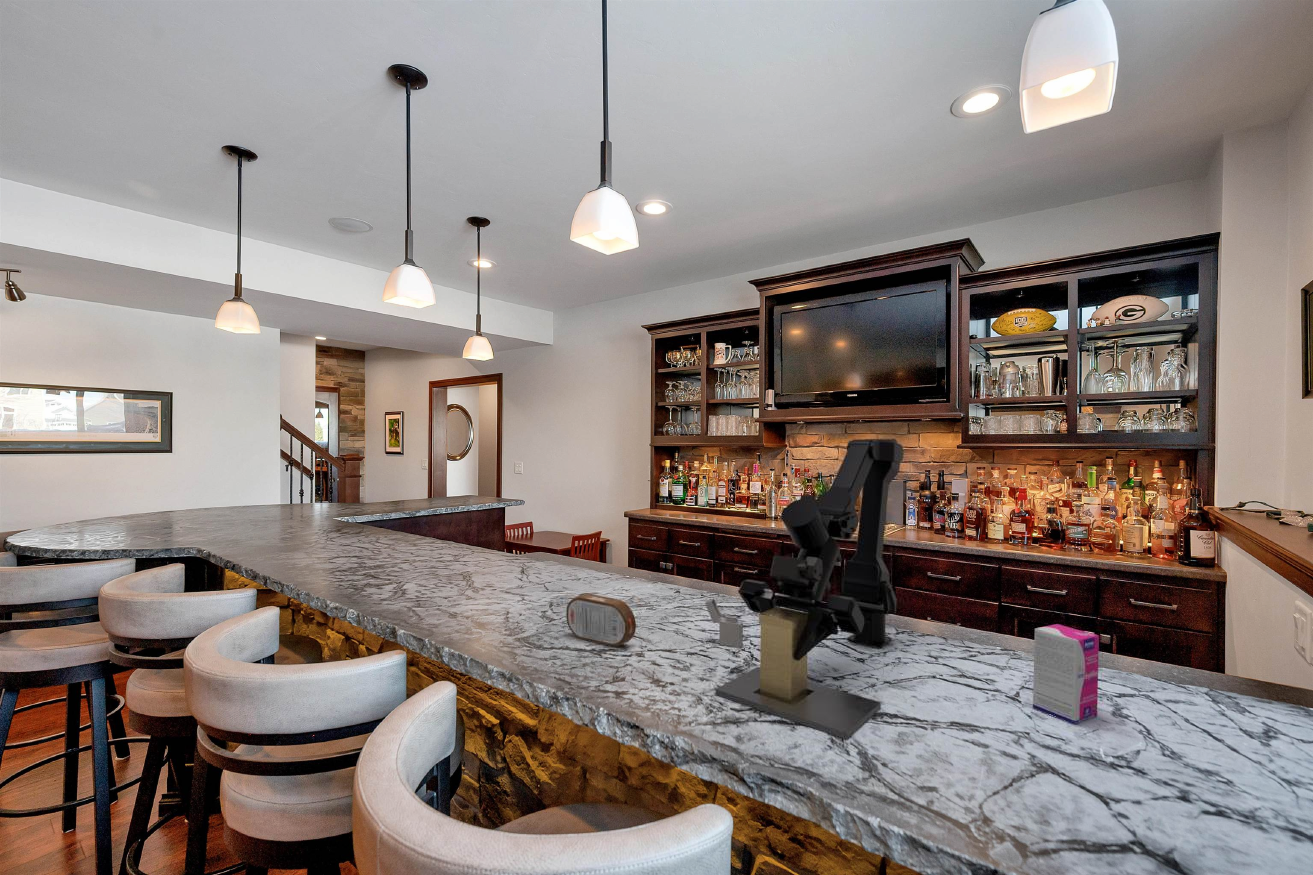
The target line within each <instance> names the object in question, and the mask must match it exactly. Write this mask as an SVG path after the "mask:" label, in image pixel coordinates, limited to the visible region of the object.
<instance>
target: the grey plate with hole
mask: <svg viewBox="0 0 1313 875" xmlns="http://www.w3.org/2000/svg"><path fill="white" fill-rule="evenodd" d="M715 696H719V697H722V698H725V699H727V700H731V701H733V702H736V703H739V704H741V705H744V706H747V707H751V708H753V709H757V710H759V711H763V712H764V713H765V712H766V713H768V714H772V715H774V716H777V717H780V718H783V719H786V720H789V721H792V722H795V723H798V724H799V725H800V724H801V725H803V726H805V727H810V728H812V729H815V730H819V731H822V732H825V733H827V734H830V735H833V736H835V737H838V738H842V739H844V740H848V739H849V738H850V737H851V736H852V735H854V733H855V732H856V731H857V730H859V729H860V728H861V727H862V726H864V724H866V722H867V721H868V720H870V719H871V718H872V716H874V715H875V714H876V713H877V712H878V711H880V709H881V708H882V706H881V704H882V703H881V701H878V700H875V699H871V698H868V697H863V696H860V695H857V694H852V693H850V692H846V691H843V690H839V689H836V688H832V687H828V686H825V685H822V684H819V683H815V682H811V681H809V680H807V697H806V698H804V699H803V700H801V701H800V702H798V703H797V704H796V705H794V706H793V705H790V704H787V703H784V702H781V701H778V700H775V699H771V698H768V697H765V696H762V695H760V667H759V666H756V667H754V668H753V669H751V670H749V671H748V672H745V673H744V674H741V675H740V676H738V677H736V678H734V679H732V680H730V681H728V682H727V683H725V684H723V685H721V686H719V687H717V688H715Z"/></svg>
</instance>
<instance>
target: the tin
mask: <svg viewBox="0 0 1313 875" xmlns="http://www.w3.org/2000/svg"><path fill="white" fill-rule="evenodd" d="M565 615H566V616H565V617H566V622H567V627H568V628H569V630H570V631H571V633H572V634H573V635H574V637H577V638H578V639H581V640H584V641H588V642H592V643H596V644H600V645H604V646H608V647H613V648H614V647H620V646H622V645H624V644H626V643H628V642H630V641H631V640H632V639H633V638H634V636H635V633H636V630H637V622H636V617H635V615H634V611H633V610H632V608H631V607H630V606H629V605H628V604H627V603H626V602H625V601H623V600H621V599H618V598H614V597H607V596H604V595H599V594H593V593H588V592H585V593H581V594H579V595H578V596H575V597H574V598H572V599H571V600H570V601H569V602H568V604H567V606H566V612H565Z"/></svg>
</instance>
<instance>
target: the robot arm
mask: <svg viewBox="0 0 1313 875" xmlns="http://www.w3.org/2000/svg"><path fill="white" fill-rule="evenodd" d="M903 459H904V447H903V444H901V443H899V442H898V440H897V439H895V438H863V439H861V438H859V439H858V438H857V439H856V438H855V439H852V440H849V441H848V442H847V446H846V454H845V456H844V457H843V460H842V462H841V464H840V466H839V468H838V471H837V472H836V474H835V477H834V479H833V482H832V483H831V486H830V488H829V489H828V490H827V491H825V492H823V493H822V494H820V495H818V496H817V498H816V499H815V496H814V495H813V494H812V495H811V494H801V496H800V499H797V500H793V501H792V502H790V503H789V504H787V505H786V507H784V508H783V509H782V511H781V515H780V518H781V521H782V522H783V525H784V526H785V529H786V530H787V532H788V534H789V536H790V538H791V539H792V542H793V544H794V545H795V546H796V547H797V548H799V549H800V550H799V553H798V556H797V557H790V556H782V555H774V556H773V560H772V565H771V568H770V572H769V577H770V578H775V579H776V580H777V586H778V588H779V589H780V590H782V591H783V592H782V593H778V592H775V591H774V590H771V588H770V586H769V584H768V583H767V582H765V581H761V580H759V581H758V580H754V579H745V580H743V581H742V582H741V584H740V587H739V589H738V590H737V593H738V594H739V596H740V597H741V598H742V600H743V602H744V603H745V605H746V606H747V608H748V609H749V610H750V611H751V612H753V613H757V614H761V613H763V612H766V611H768V610H771V609H773V608H776V607H779V608H784V609H789V610H794V611H799V612H804V613H808V620H807V623H806V626H805V628H804V631H803V633H802V635H801V638H800V640H799V642H798V645H797V648H796V651H795V655H794V658H795V659H796V660H797V661H799V660H800V659H801V658H803V657H804V656H805V655H806V654H807V655H808V654H809V652H810V651H811V650H813V649H814V648H815V647H817V645H818V644H820V643H821V642H822V641H824V640H826V639H827V638H829V637H830V636H831V635H835V636H836V635H838V634H839V629H840V631H841V632H843V633H844V632H845V633H849V634H850V635H849V636H847V637H846V641H848V642H852V643H855V644H856V643H857V644H860V645H865V646H869V647H874V648H877V649H882V648H883V647H885V646H886V645H887V644H889V643H890V642H892V640H893V637H891V636H887V635H886V616H888V615H890V614H891V615H892V614H894V615H895V614H896V613H897V605H898V604H897V603H898V602H897V600H898V599H897V596H896V594H895V591H894V590H893V586H892V584H891V582H890V572H889V570H888V568H887V565H886V564H885V562H884V560H883V550H884V539H885V527H886V518H887V509H888V508H887V507H888V497H889V487H890V484H891V482H893V481H894V479H895V478H896V476H898V474H899V473H900V466H901V463H902V462H903ZM861 491H862V492H861ZM860 493H861V502H860V510H859V511H860V512H859V516H858V513H857V509H856V505H857V504H856V503H857V501H858V498H859V496H860ZM857 529H858V532H857V539H856V549H855V554H854V555H853V556H852V557H851V559H850V560H846V562H845V563H844V566H843V567H844V569H843V570H844V571H843V576H842V578H841V581H840V589H841V590H840V591H841V592H840V593H841V595H839V594H834V593H831V594H829V595H827V596H826V597H827V598H826V600H825V601H822V600H823V598H824V595H825V592H826V591H830V590H831V587H832V584H831V583H830V578H831V576H832V573H833V570H834V567H835V564H836V563H841V562H842V555H841V553H840V551H841V549H840V546H839V544H838V542H837V541H836V539H838V540H850V539H851V538H852V537H853V535H854V534H855V533H856V531H857ZM838 628H839V629H838Z"/></svg>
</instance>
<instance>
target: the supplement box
mask: <svg viewBox="0 0 1313 875" xmlns="http://www.w3.org/2000/svg"><path fill="white" fill-rule="evenodd" d="M1033 642H1034V644H1033V645H1034V647H1033V648H1034V649H1033V650H1034V651H1033V685H1032V686H1033V688H1032V706H1031V708H1032V709H1033V708H1034V710H1036V711H1038V710H1040V711H1042V712H1041V713H1043V712H1045V713H1044V714H1046V713H1048V714H1047V715H1049V714H1051V715H1053V716H1052V717H1054V716H1056V717H1058V718H1057V719H1059V718H1060V719H1059V720H1061V719H1063V720H1062V721H1064V720H1065V721H1064V722H1066V721H1067V722H1066V723H1070V724H1073V725H1077V724H1078V723H1081V722H1084V721H1086V720H1089V719H1093V718H1096V717H1098V700H1099V699H1098V698H1099V696H1098V695H1099V694H1098V692H1099V691H1098V690H1099V689H1098V688H1099V656H1100V654H1099V653H1100V652H1099V651H1100V650H1099V649H1100V648H1099V647H1100V636H1099V635H1098V634H1095V633H1092V632H1088V631H1084V630H1079V629H1075V628H1073V627H1069V626H1067V625H1066V626H1065V625H1062V624H1059V623H1056V624H1052V625H1046V626H1042V627H1041V626H1040V627H1037V628H1034V641H1033ZM1040 711H1039V712H1040ZM1051 715H1050V716H1051ZM1056 717H1055V718H1056Z"/></svg>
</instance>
